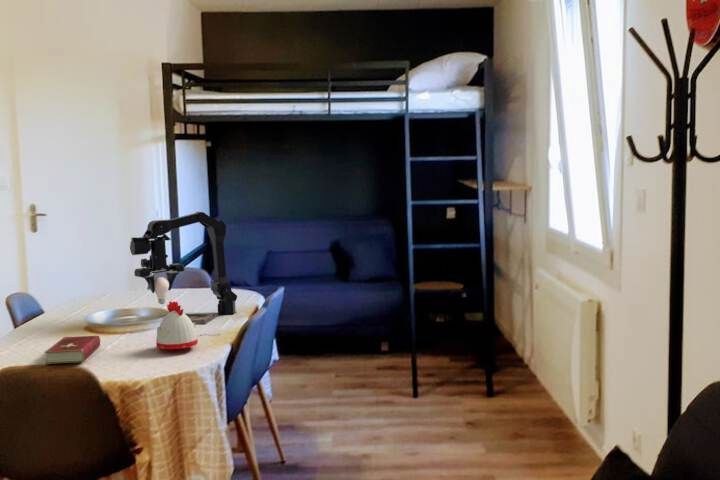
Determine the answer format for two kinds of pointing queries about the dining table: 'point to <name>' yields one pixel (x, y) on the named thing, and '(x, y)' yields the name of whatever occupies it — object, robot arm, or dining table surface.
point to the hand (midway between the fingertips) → (161, 291)
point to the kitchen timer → (176, 329)
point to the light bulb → (161, 288)
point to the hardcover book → (72, 349)
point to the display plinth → (201, 318)
